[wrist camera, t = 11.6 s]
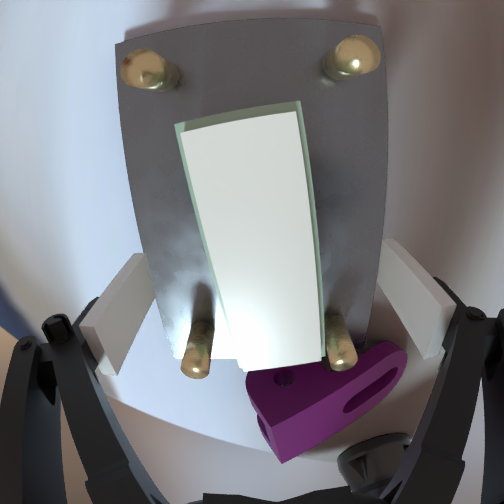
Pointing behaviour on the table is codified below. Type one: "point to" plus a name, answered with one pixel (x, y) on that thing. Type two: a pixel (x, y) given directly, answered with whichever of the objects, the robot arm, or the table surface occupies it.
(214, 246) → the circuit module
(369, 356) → the mounting bracket
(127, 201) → the table surface
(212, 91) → the chassis plate
